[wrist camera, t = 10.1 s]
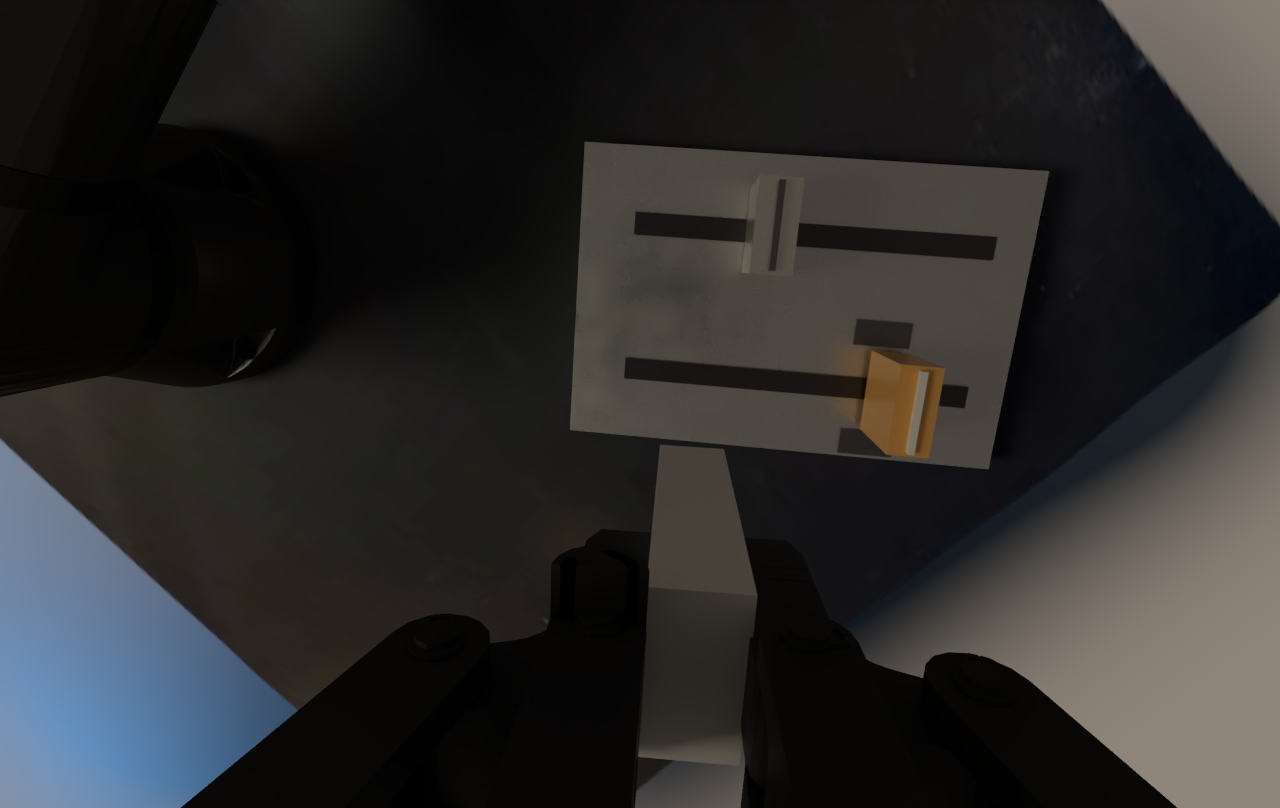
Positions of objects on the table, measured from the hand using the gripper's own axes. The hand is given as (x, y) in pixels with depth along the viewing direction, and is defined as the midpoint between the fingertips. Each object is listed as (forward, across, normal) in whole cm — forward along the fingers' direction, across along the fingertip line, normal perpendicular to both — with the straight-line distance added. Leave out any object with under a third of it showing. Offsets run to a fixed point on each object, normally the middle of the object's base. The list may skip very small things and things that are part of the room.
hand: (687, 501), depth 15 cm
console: (+23, +6, +3) cm, 24 cm away
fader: (+20, +11, -1) cm, 23 cm away
